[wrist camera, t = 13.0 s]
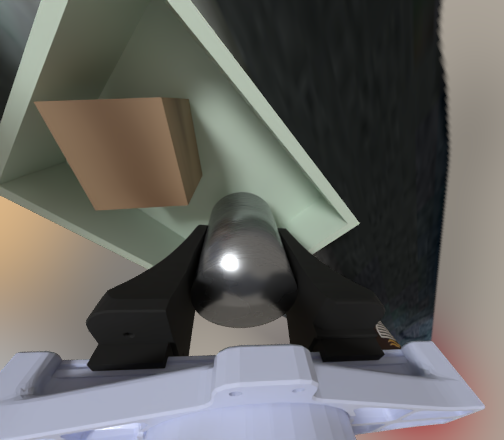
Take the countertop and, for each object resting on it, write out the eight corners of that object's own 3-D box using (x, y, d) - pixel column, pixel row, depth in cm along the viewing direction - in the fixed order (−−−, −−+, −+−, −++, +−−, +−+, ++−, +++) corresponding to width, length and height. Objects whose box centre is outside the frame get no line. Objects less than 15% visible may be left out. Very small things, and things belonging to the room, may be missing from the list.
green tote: (59, 159, 14) (-21, 185, 9) (155, -28, 9) (86, -137, 5) (230, 268, 21) (228, 309, 17) (328, 192, 17) (359, 223, 12)
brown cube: (137, 178, 14) (95, 210, 10) (108, 101, 11) (33, 101, 7) (202, 175, 14) (188, 205, 10) (188, 98, 12) (161, 97, 7)
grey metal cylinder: (197, 224, 14) (169, 304, 8) (238, 178, 13) (240, 238, 7) (244, 254, 16) (248, 337, 10) (285, 218, 15) (318, 292, 9)
